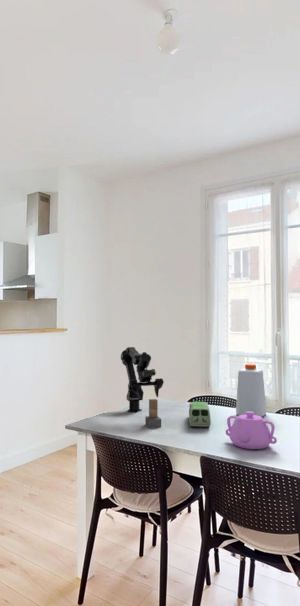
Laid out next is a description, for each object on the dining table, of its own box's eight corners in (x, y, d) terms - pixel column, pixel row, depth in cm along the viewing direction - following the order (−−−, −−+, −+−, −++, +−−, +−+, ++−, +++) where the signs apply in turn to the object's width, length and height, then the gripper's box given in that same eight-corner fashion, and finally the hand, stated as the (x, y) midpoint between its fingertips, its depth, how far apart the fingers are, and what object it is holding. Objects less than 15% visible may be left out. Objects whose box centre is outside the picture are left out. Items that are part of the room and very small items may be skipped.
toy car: (208, 417, 206) (208, 398, 207) (211, 429, 182) (211, 408, 182) (188, 416, 207) (188, 398, 208) (189, 429, 183) (189, 408, 183)
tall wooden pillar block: (145, 424, 191) (145, 398, 191) (156, 423, 192) (156, 397, 193) (149, 428, 184) (149, 401, 185) (161, 427, 186) (161, 400, 186)
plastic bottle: (261, 419, 202) (261, 366, 204) (234, 415, 209) (233, 365, 211) (267, 413, 215) (266, 364, 217) (241, 410, 222) (241, 362, 224)
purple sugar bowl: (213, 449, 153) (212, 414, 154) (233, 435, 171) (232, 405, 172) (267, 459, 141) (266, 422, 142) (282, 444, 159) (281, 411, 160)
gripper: (129, 364, 198) (134, 389, 187) (162, 363, 204) (169, 387, 193) (125, 377, 205) (130, 401, 194) (157, 376, 211) (164, 399, 200)
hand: (149, 397), depth 195 cm, fingers open, 9 cm apart
